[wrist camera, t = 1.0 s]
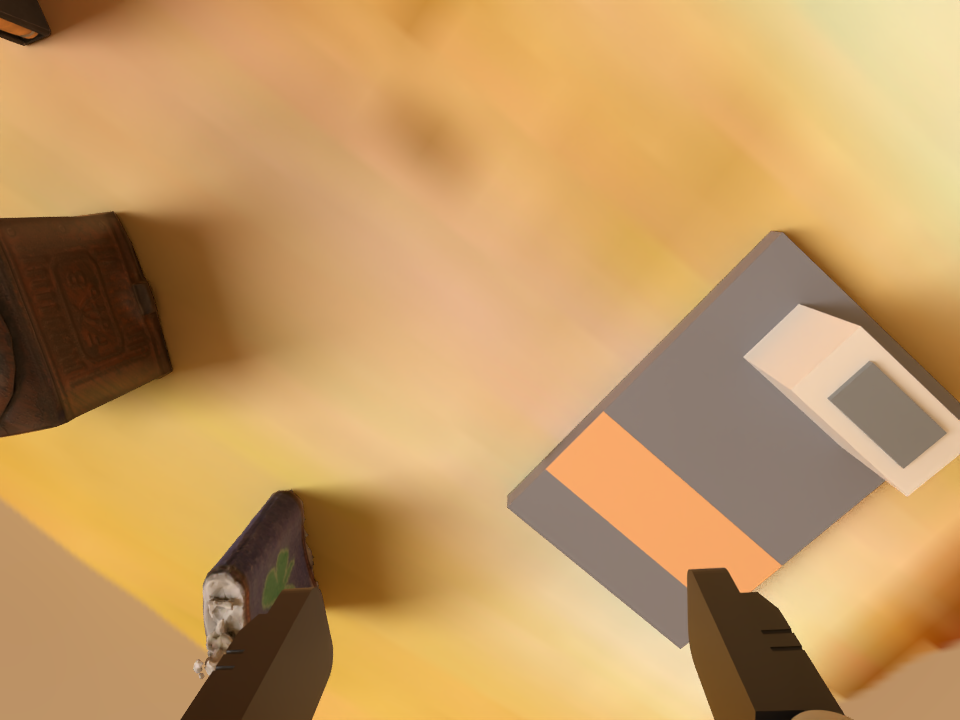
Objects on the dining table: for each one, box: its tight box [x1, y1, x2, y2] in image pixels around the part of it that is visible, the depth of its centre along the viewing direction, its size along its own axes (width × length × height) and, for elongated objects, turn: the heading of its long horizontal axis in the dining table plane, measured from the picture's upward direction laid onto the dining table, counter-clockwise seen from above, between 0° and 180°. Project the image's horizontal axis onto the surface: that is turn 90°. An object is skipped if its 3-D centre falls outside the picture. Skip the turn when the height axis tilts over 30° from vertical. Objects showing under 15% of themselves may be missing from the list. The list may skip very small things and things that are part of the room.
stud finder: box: [744, 304, 960, 496], centre depth 30 cm, size 4×8×6 cm, turn 49°
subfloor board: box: [507, 231, 960, 649], centre depth 35 cm, size 22×15×2 cm
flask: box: [193, 489, 319, 679], centre depth 35 cm, size 9×3×11 cm, turn 5°
